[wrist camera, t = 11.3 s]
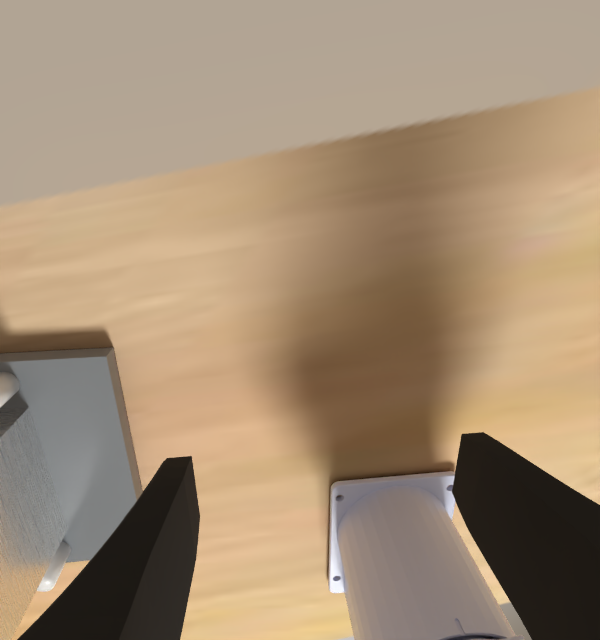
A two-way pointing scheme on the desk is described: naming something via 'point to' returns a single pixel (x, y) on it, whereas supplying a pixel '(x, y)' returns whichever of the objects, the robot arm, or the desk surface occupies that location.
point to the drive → (24, 517)
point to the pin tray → (77, 441)
